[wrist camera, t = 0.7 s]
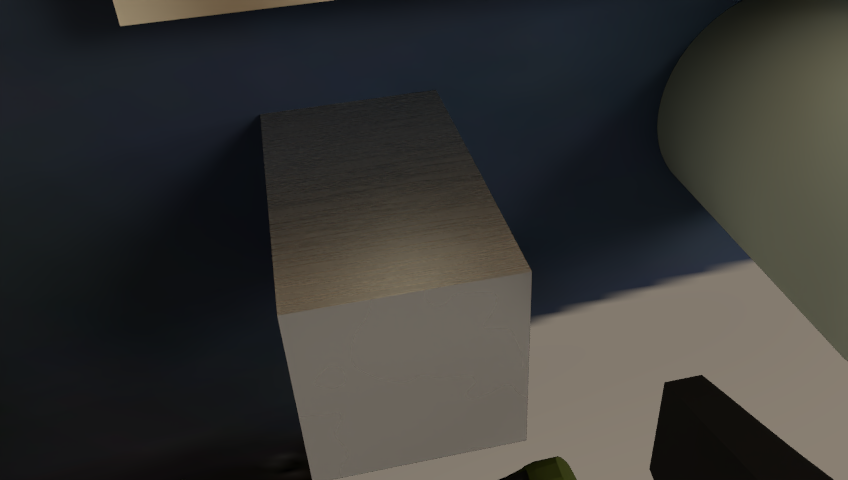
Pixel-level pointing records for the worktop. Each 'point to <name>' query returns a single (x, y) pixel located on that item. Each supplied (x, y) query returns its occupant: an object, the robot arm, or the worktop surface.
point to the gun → (544, 471)
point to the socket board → (189, 8)
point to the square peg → (393, 286)
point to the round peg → (771, 144)
